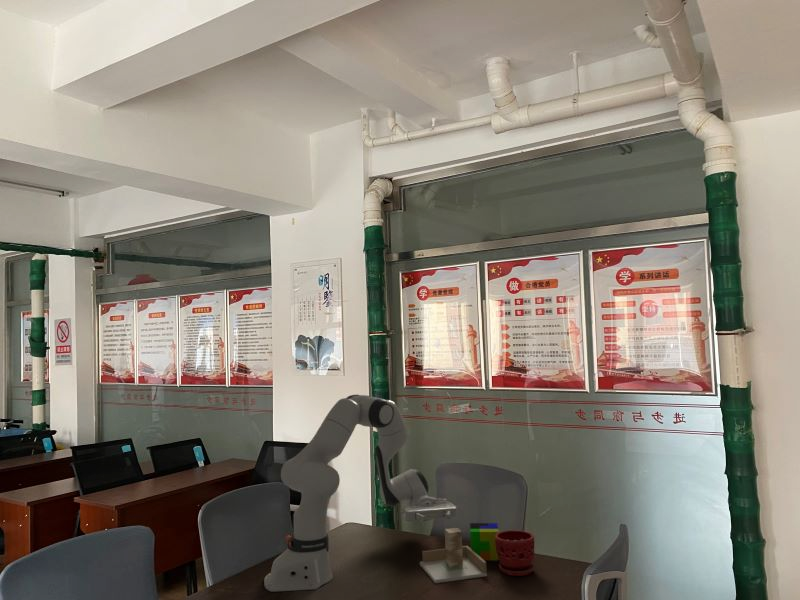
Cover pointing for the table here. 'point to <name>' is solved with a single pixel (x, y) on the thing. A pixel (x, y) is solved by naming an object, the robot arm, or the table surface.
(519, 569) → the plant pot
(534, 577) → the table surface
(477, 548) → the puzzle toy
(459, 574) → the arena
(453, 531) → the beech block
